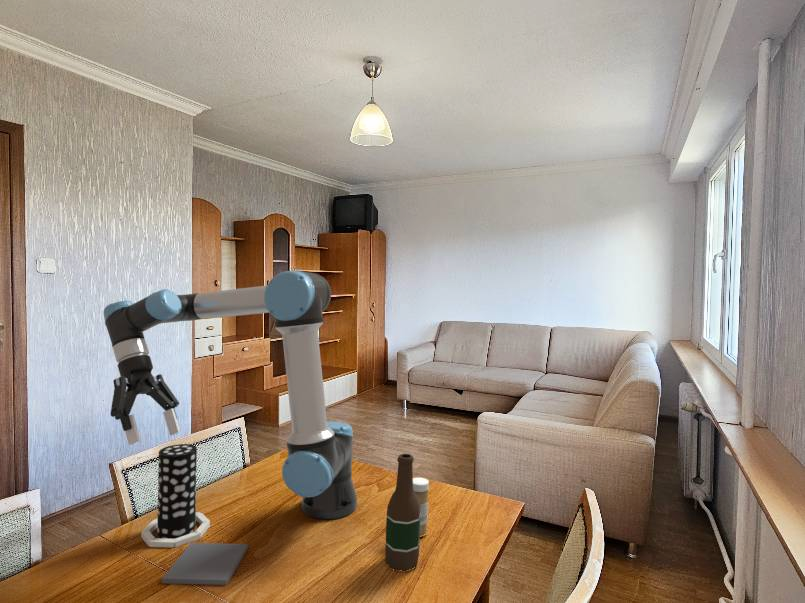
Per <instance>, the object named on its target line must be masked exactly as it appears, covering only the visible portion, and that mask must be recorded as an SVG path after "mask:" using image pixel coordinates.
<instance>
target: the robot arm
mask: <svg viewBox="0 0 805 603" xmlns="http://www.w3.org/2000/svg"><path fill="white" fill-rule="evenodd" d="M331 290H332V289H331V287H330V284H329V283H328V280H326V279H325V278H324V277H323V276H322V275H320V274H318V273H316V272H309V271H308V272H307V271H302V270H299V269H295V270H294V269H291V270H286V271H281V272H279V273H278V274H276V275H274V276H273V277H272V278H271V280H270V281H268V283H267V285H262V286H261V285H260V286H251V287H244V288H243V287H241V288H235V289H225V290H217V291H205V292H199V293H189V294H187V293H186V294H177V293H175V292H174V291H171V290H170V289H167V288H166V289H165V288H163V289H160V290H158V291H155V292H152V293H150V294H149V295H147V296H146V297H144V298H142V299H140V300H138V301H137V302H132V301H131V300H119V301H116V302H113V303H110V304H108V305H106V306H105V307H104V308H103V313H102V314H103V318H104V325H105V327H106V330H107V333H108V336H109V340H110V342H111V346H112V350H113V353H114V357H115V360H116V363H118V364H117V368H118V373H119V377H116V378H115V379H113V380H112V381H113V387H114V389H113V396H112V402H111V408H110V417H112V418H114V419H115V420H116V421H118V420H120V424H121V427H122V430H123V432H124V433H125V436H126V440H127V443H128V446H131V445H132V446H133V445H134V444H136V443H138V442H140V441H141V437H140V433H139V429H138V426H137V423H136V419H135V416H134V415H135V414H131V411H132V409H133V406H134V404H135V401H136V399H137V395H146V396H149V397H150V398H152V399H153V400H154V401H155V402H156V403H157V404H158V405H159V406H160V407H161V408H162V409H163V410H164V411H162V413H163V416H164V419H165V424H166V426H167V430H168V433H169V436H170V437H171V436H174V435H176V434H179V433H180V432H181V429H180V426H179V422H178V416H177V412H176V409H175V408H177V407H178V406H179V405H180V402H179V400H178V399H177V397H176V396H175V395H174V393H173V392H172V391H171V390H172V389H170V388H169V386H168V385H167V383H166V382H165V380H164V377H163V374H162V373H159V374H156V375H154V376H153V374H152V370H153V368H154V365H153V362H152V358H151V356H150V355H149V353H150V351H149V348H148V344H147V342H146V339H145V335H144V332H146V331H148V330H149V329H151V328H153V327H155V326H157V325H160V324H167V323H177V322H187V321H196V320H198V321H199V320H204V319H205V320H206V319H217V318H225V317H226V318H228V317H234V316H235V317H238V316H247V315H248V316H249V315H258V314H267V313H269V314H270V315H271V316H273V321H274V329H275V330H277V331H278V332H279V333H280V334H281V336H282V344H283V354H284V356H283V357H284V363H285V364H284V365H285V366H284V367H285V374H286V376H285V377H286V384H287V393H288V394H287V395H288V404H289V413H290V414H289V415H290V421H291V424H290V425H291V432H290V433H289V436H287V438H286V446H287V447H286V448H287V458H285V460H284V463H283V464H282V470H281V474H282V479H283V482H284V484H285V485H286V487H287V488H288V489H289V491H291V492H293V493H294V494H295V495H297V496H299V497H302V498H301V510H302V512H303V513H304V514H305V515H307V516H309V517H311V518H315V519H318V520H334V519H340V518H343V517H347V516H348V515H350V514H352V513H354V512H355V511H356V509H357V507H358V497H357V496H358V495H357V493H356V488H355V485H354V482H353V479H352V474H353V473H352V471H353V470H352V469H353V441H354V439H353V438H354V435H353V434H354V433H353V427H352V425H351V424H348V423H346V422H341V421H328V418H327V408H326V398H325V390H324V381H323V371H322V360H321V349H320V338H319V330H320V328H321V327H322V326H323V324H324V318H323V316H324V315H323V312H324V311H325V310H326V309H327V308H328V306H329V304H330V302H331V300H332V299H331V298H332V291H331Z"/></svg>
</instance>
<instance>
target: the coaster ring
mask: <svg viewBox="0 0 805 603" xmlns="http://www.w3.org/2000/svg"><path fill="white" fill-rule="evenodd" d="M195 521H196V522H198V523H199V527H198V528H197V529H195V530H194V532H193V533H190V534H187V535H185V536H182V537H179V538H176V539H165V538H159V537H155V536H154V535H153V532H154V531H155V530H156V529H157V526H158V517H156V518H155V519H153V520H152V521H151V522H150V523H149V524H148V525H146V527H145V528H144V529H142V530H141V533H140V534H141V535H140V536H141V539H142V540H143V541H144V542H145V544H146V545H147V546H148V547H150V548H170V549H171V548H177V547H179V546H180V547H181V546H183V545H186V544H190V543H192V542H193V541H197V540H199V539H201V538H202V537H203V536H204V534H205V533H206V532H207V530H208V529H209V528H210V527H211V520H210V519H209V518H208V517H206V516H205V514H203V513H202V512H199V511H198V512H197V511H196V516H195Z"/></svg>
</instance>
